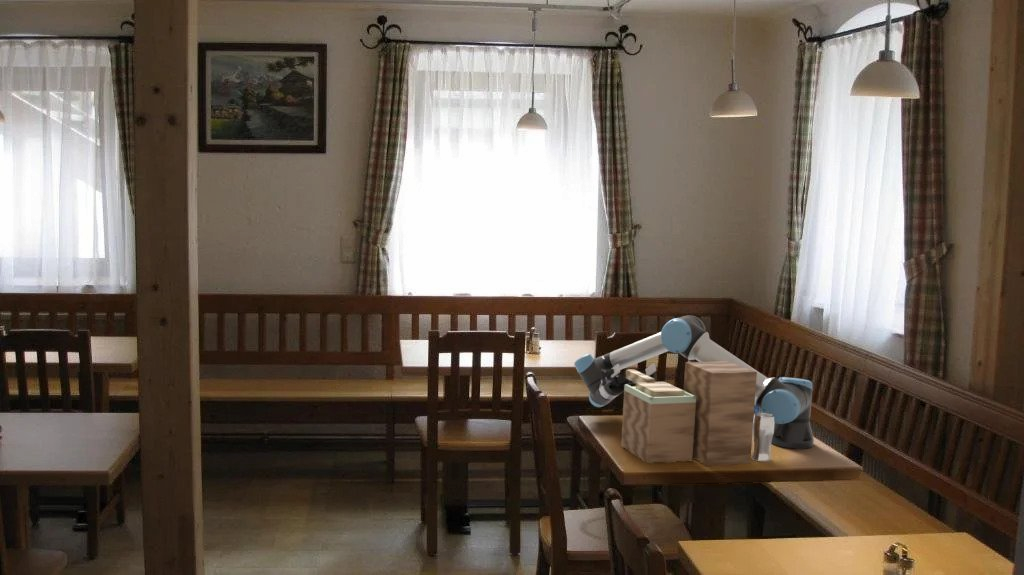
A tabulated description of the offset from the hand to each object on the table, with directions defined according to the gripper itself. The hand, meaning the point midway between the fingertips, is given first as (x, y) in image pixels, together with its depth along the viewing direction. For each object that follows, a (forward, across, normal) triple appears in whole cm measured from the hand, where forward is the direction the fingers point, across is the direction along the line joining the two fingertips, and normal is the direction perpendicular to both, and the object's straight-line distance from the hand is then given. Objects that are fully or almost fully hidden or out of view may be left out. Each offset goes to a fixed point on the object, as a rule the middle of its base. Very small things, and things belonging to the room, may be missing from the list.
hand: (636, 367), depth 349 cm
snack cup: (-25, -54, -15) cm, 62 cm away
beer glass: (+13, -32, -37) cm, 51 cm away
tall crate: (+8, -18, -34) cm, 40 cm away
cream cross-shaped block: (+5, 0, -9) cm, 10 cm away
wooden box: (+2, 0, -31) cm, 31 cm away
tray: (+12, 0, -14) cm, 18 cm away
